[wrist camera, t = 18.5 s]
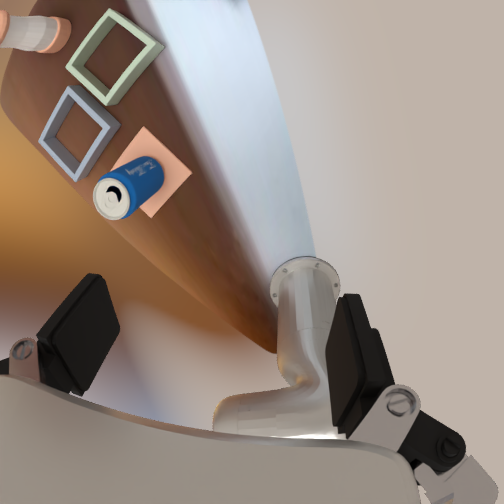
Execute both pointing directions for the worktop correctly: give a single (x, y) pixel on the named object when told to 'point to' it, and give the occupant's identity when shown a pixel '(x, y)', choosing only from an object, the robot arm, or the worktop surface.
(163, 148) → the terracotta mat
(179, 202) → the worktop surface
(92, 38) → the sage green bin
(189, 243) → the worktop surface
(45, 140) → the slate blue bin
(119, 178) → the beverage can
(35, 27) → the salt shaker
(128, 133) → the worktop surface
